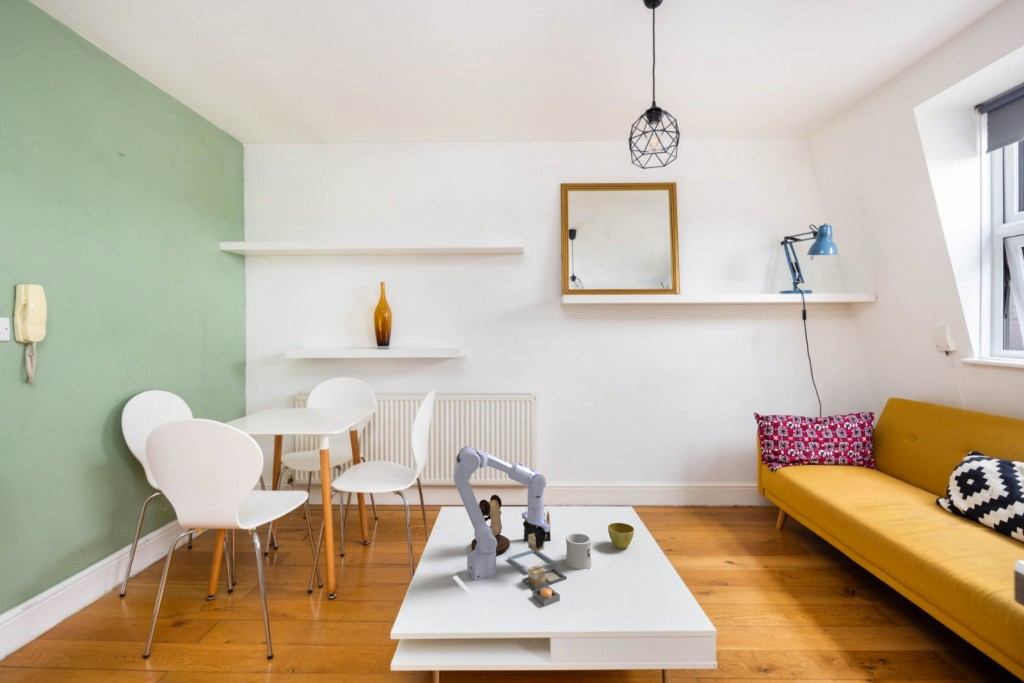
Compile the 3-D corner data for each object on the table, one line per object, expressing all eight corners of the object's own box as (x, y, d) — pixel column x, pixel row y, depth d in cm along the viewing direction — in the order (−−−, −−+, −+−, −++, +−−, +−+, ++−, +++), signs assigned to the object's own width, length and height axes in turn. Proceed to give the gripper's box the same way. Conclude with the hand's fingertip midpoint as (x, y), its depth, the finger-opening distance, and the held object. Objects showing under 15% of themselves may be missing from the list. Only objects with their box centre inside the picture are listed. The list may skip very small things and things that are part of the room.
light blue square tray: (526, 578, 156) (526, 571, 156) (508, 562, 166) (508, 556, 166) (555, 568, 163) (555, 562, 163) (535, 554, 173) (535, 548, 173)
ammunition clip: (523, 542, 183) (523, 512, 183) (523, 540, 185) (523, 510, 185) (550, 542, 183) (550, 511, 183) (550, 540, 185) (550, 510, 185)
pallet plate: (535, 596, 145) (535, 590, 145) (519, 583, 153) (519, 577, 153) (569, 583, 153) (569, 578, 153) (553, 571, 160) (553, 566, 160)
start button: (544, 604, 139) (544, 595, 139) (537, 598, 142) (537, 589, 142) (554, 600, 141) (554, 592, 141) (547, 594, 144) (547, 586, 144)
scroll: (493, 562, 167) (493, 507, 167) (463, 550, 176) (463, 498, 176) (517, 547, 179) (517, 495, 179) (488, 537, 188) (488, 488, 187)
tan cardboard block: (534, 551, 160) (534, 538, 160) (528, 547, 163) (528, 534, 163) (544, 549, 162) (544, 535, 162) (537, 544, 165) (537, 531, 165)
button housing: (543, 610, 138) (543, 601, 138) (532, 600, 143) (532, 591, 143) (559, 604, 141) (559, 594, 141) (548, 594, 146) (548, 585, 146)
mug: (591, 573, 159) (591, 545, 159) (564, 571, 161) (564, 542, 160) (592, 556, 171) (592, 530, 171) (567, 554, 173) (567, 528, 173)
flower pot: (632, 540, 184) (632, 522, 184) (636, 552, 174) (636, 533, 174) (606, 539, 185) (606, 522, 185) (609, 551, 175) (609, 532, 175)
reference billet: (535, 587, 148) (535, 573, 148) (528, 581, 152) (528, 567, 152) (545, 583, 150) (545, 569, 150) (538, 578, 154) (538, 564, 154)
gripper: (557, 510, 158) (557, 549, 158) (533, 497, 170) (533, 534, 170) (540, 514, 154) (541, 555, 154) (517, 501, 166) (517, 539, 167)
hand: (535, 544), depth 162 cm, fingers closed on tan cardboard block, 4 cm apart
